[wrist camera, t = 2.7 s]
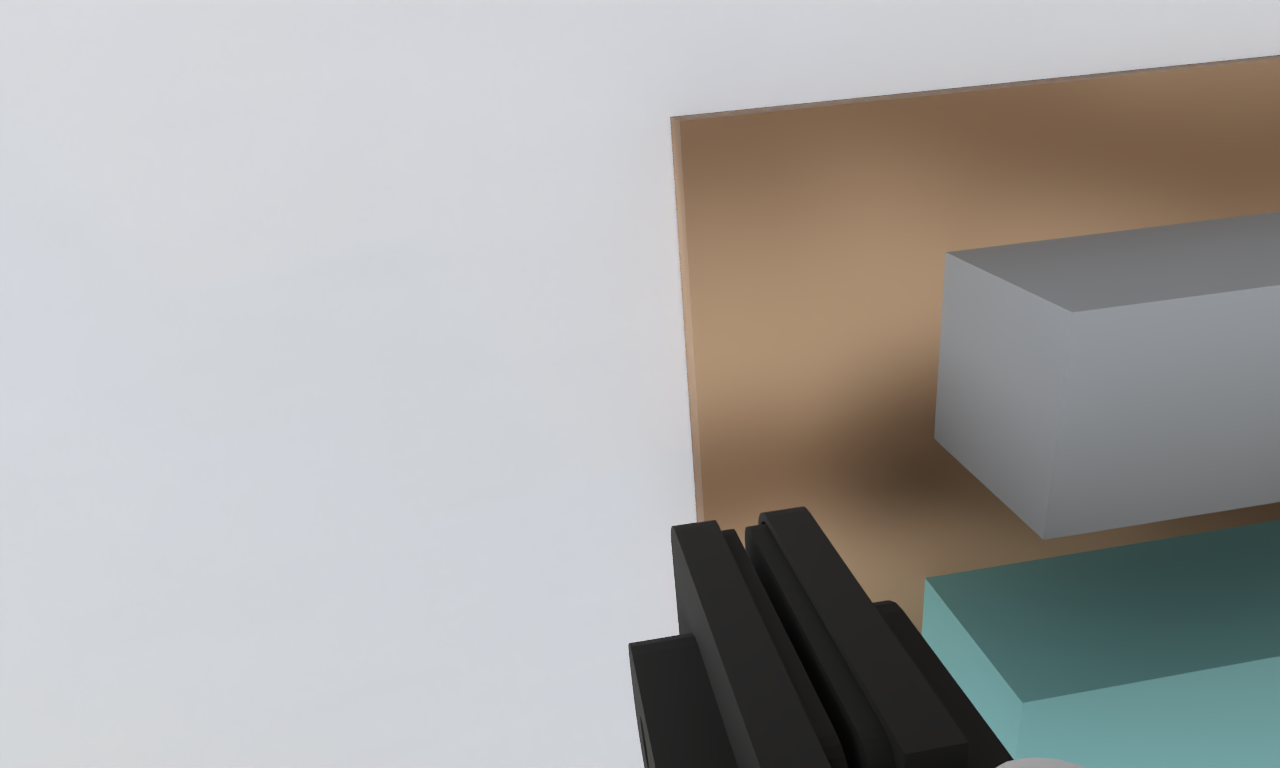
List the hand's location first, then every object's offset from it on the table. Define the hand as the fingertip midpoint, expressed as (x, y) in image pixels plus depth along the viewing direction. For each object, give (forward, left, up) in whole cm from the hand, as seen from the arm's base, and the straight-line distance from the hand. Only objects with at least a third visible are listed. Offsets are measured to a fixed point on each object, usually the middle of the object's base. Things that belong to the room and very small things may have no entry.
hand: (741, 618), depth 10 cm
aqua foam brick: (+6, +10, -5) cm, 12 cm away
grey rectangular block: (-1, +10, -5) cm, 11 cm away
